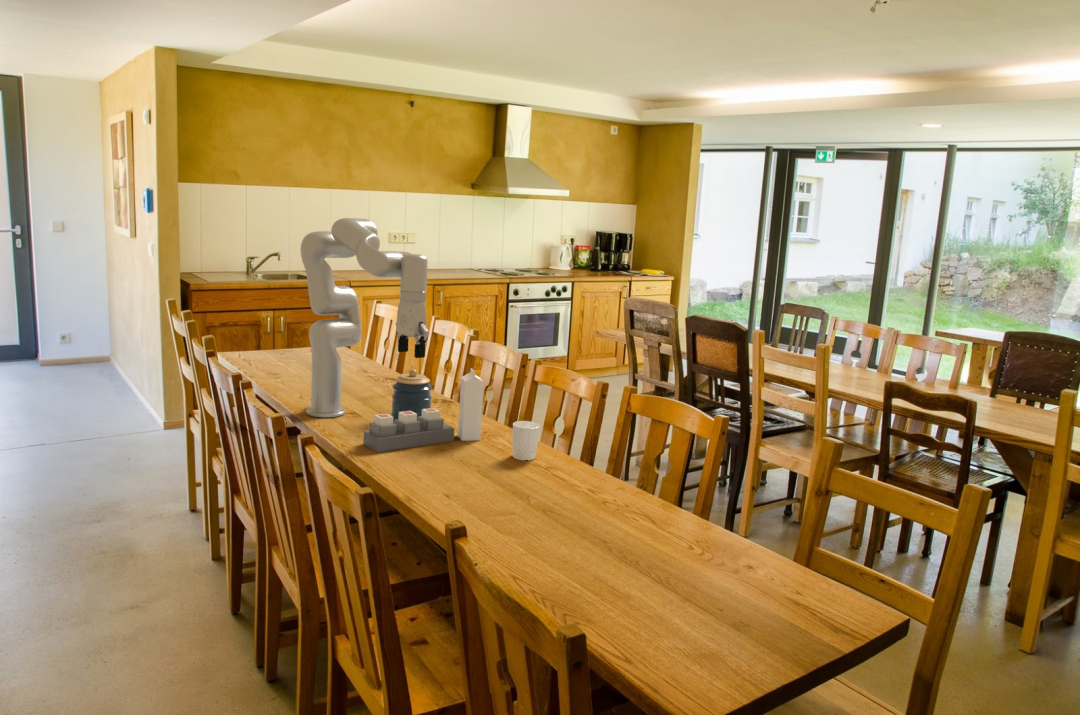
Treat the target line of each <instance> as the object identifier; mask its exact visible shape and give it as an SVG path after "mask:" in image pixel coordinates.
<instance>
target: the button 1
mask: <svg viewBox="0 0 1080 715" xmlns="http://www.w3.org/2000/svg"><path fill="white" fill-rule="evenodd" d="M373 420H374V424H375V425H376V426H378V427H387V426H393V424H394V422H393V416H391V414H389V413H381V414H380V413H379V414H374V419H373Z"/></svg>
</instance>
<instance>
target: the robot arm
mask: <svg viewBox="0 0 1080 715" xmlns="http://www.w3.org/2000/svg"><path fill="white" fill-rule="evenodd" d="M378 234H379V233H378V228H377V226H376V224H375V223H374V222H373V221H371V220H370V219H367V218H356V217H344V218H339V219H337V220H336V221H335V222H333V223H332V225H331V230H330V231H328V230H327V231H326V230H325V231H322V230H321V231H313V232H309V233H307V234H306V235H305V236H304V237H303V238H302V241H301V243H300V256H301V262H302V264H303V267H304V271H305V273H306V281H307V289H308V290H307V291H308V298H309V303H310V305H309V306H310V308H311V311H312V313H313V314H315V315H318V316H332V315H335V316H336V315H338V318H327V319H320V320H316V321H314V322H313V323H312V324H311V325H310V327H309V330H308V338H309V342H310V350H311V383H310V384H311V385H310V386H311V387H310V388H311V389H310V390H311V391H310V392H311V395H310V397H311V398H310V406H309V407H307V408H306V409H305V413H306V414H307V415H308V416H311V417H314V418H336V417H341V416H343V415H345V414H346V409H345V408H344V407H343V406H341V404H342V403H341V402H342V401H341V400H342V399H341V398H342V397H341V396H342V363H343V362H342V358H341V357H340V354H339V352H338V351H337V349H336V348H343V347H344V348H345V347H352V346H353V347H354V346H355V345H357V344H358V343H360V341H361V339H362V323H361V322H362V320H361V314H360V313H361V312H360V306H359V300H358V299H359V298H358V296H357V294H356V291H355V290H354V289H353V288H352V287H350V286H348V285H336V283H335V282H336V281H335V276H334V275H335V274H334V271H333V269H332V268H331V266H330V264H329V263H328V262H327V261H326V260H325V259H348V258H353V257H354V256H356V261H357V263H358V265H359V267H360V268H362V270H364V271H366V272H368V273H369V274H370V275H372V276H374V277H378V278H400V285H399V286H400V289H399V291H400V292H399V302H398V307H397V316H396V322H395V326H396V328H395V329H396V334H397V335H396V336H397V352H398V353H407V352H409V338H413V337H414V340H415V344H414V358H416V359H422V358H425V357H426V345H427V341H428V340H429V335H430V330H429V328H427V306H426V304H427V287H428V286H427V284H428V282H427V280H428V257H427V256H426V255H424V254H418V253H417V254H416V253H412V252H411V253H410V252H408V251H392V250H391V251H390V250H387V251H384V250H383V251H381V250H379V249H380V244H381V241H380V237H379V236H378ZM408 337H409V338H408Z"/></svg>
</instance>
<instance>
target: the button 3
mask: <svg viewBox="0 0 1080 715" xmlns="http://www.w3.org/2000/svg"><path fill="white" fill-rule="evenodd" d="M421 418H423V419H425V420H427V421H432V420H439V419H440V418H441V411H440V410H438V409H436V408H434V407H432V408H428V409H422V417H421Z"/></svg>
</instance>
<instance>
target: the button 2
mask: <svg viewBox="0 0 1080 715" xmlns="http://www.w3.org/2000/svg"><path fill="white" fill-rule="evenodd" d="M398 421H399V422H401V423H403V424H409V423H417V414H416V413H414V412H412V411H404V412H399V418H398Z"/></svg>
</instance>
